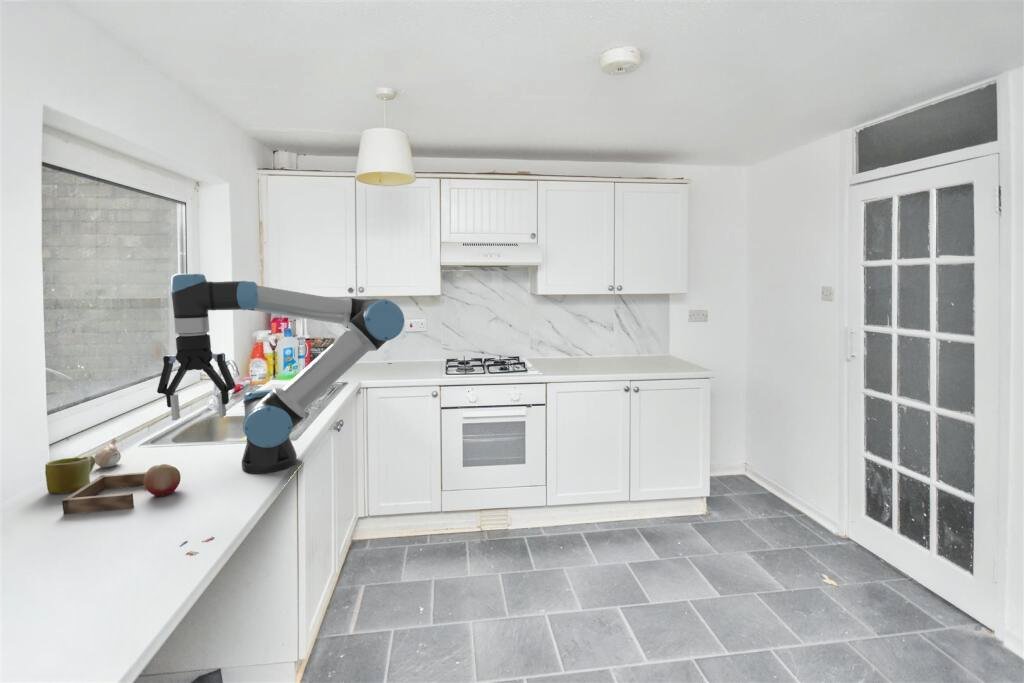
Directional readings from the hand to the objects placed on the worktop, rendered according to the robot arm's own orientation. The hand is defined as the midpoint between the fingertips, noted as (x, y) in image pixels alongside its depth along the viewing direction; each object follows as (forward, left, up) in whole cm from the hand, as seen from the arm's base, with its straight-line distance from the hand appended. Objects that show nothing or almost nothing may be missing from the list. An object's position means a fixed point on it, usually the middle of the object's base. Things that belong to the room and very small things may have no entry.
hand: (199, 417), depth 134 cm
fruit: (+10, 0, -20) cm, 22 cm away
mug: (+36, -11, -20) cm, 43 cm away
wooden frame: (+21, 0, -20) cm, 29 cm away
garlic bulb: (+36, -27, -20) cm, 49 cm away
